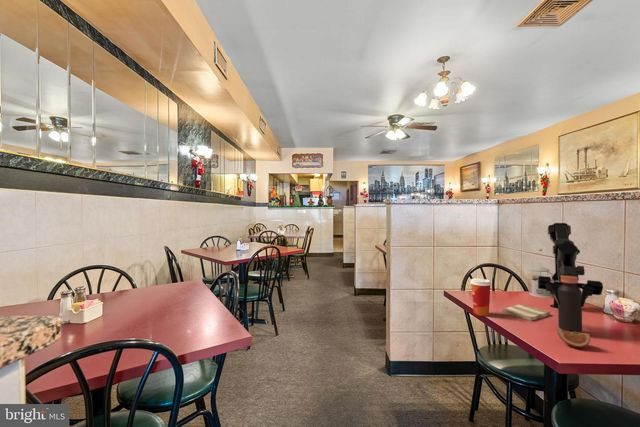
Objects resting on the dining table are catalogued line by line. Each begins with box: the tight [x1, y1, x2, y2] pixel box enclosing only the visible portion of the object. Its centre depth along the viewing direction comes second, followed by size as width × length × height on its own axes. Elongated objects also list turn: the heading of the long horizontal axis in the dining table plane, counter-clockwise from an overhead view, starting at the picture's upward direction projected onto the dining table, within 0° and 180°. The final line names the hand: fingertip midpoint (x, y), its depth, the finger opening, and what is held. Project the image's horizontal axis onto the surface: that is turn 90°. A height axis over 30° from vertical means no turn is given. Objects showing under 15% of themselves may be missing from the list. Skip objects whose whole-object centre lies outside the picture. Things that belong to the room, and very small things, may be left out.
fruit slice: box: [556, 328, 591, 349], centre depth 98 cm, size 8×7×5 cm
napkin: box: [501, 303, 551, 322], centre depth 128 cm, size 14×12×2 cm
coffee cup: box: [469, 277, 492, 317], centre depth 129 cm, size 8×8×15 cm
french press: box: [529, 248, 554, 299], centre depth 155 cm, size 10×12×25 cm
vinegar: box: [557, 275, 583, 333], centre depth 108 cm, size 7×7×20 cm
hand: (570, 304), depth 107 cm, fingers closed on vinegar, 6 cm apart
